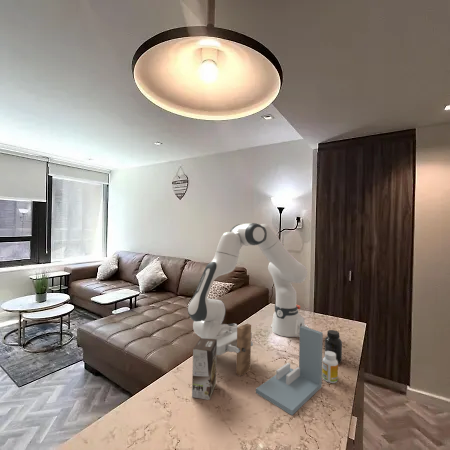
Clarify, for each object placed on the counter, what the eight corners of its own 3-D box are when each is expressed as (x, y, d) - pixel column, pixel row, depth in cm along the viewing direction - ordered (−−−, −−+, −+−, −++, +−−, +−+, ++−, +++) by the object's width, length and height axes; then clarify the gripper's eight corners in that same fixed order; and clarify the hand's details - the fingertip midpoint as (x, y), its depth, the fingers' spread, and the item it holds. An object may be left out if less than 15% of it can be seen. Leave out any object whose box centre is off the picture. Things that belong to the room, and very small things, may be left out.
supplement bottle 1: (326, 354, 114) (326, 327, 114) (342, 358, 110) (343, 331, 110) (323, 360, 108) (323, 332, 108) (340, 365, 104) (341, 336, 104)
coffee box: (210, 400, 82) (211, 351, 82) (191, 397, 83) (192, 348, 83) (216, 383, 91) (217, 338, 91) (199, 381, 92) (200, 336, 92)
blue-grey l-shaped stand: (287, 370, 100) (288, 321, 100) (321, 387, 90) (322, 332, 90) (255, 392, 86) (256, 335, 86) (292, 415, 76) (293, 351, 76)
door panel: (246, 368, 101) (247, 323, 101) (252, 371, 99) (253, 325, 99) (236, 374, 97) (237, 327, 97) (242, 377, 94) (243, 330, 95)
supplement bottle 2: (338, 377, 96) (338, 352, 96) (336, 385, 91) (337, 358, 91) (323, 373, 99) (324, 348, 99) (321, 380, 94) (321, 354, 94)
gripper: (202, 335, 100) (226, 347, 90) (237, 322, 115) (261, 331, 105) (202, 351, 100) (226, 365, 90) (236, 336, 114) (261, 347, 105)
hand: (245, 347), depth 98 cm, fingers closed on door panel, 6 cm apart
